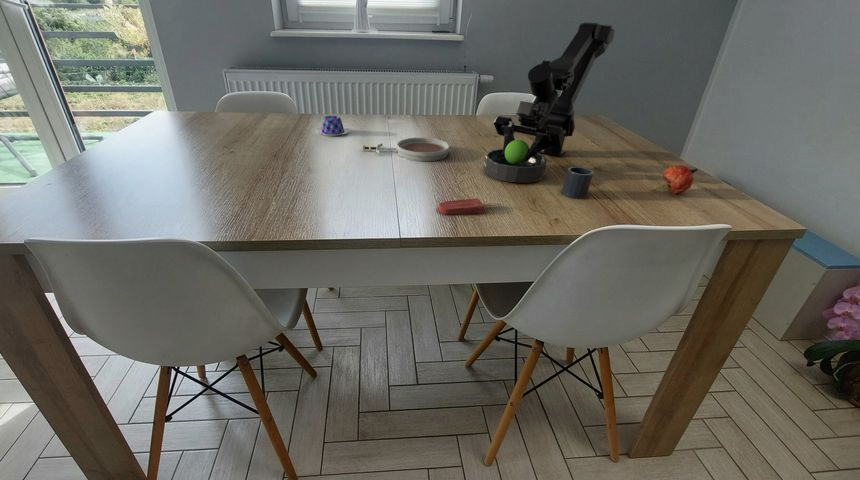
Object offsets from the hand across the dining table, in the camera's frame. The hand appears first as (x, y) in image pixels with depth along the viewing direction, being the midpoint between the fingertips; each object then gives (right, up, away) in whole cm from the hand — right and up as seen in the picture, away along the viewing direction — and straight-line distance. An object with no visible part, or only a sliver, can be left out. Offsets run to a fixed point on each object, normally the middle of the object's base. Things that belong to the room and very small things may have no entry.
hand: (513, 158), depth 110 cm
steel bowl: (+1, -3, +3) cm, 5 cm away
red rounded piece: (+38, -11, -6) cm, 40 cm away
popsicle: (-15, -17, -16) cm, 28 cm away
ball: (+1, +2, 0) cm, 2 cm away
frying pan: (-29, +7, +18) cm, 34 cm away
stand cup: (+13, -11, -8) cm, 19 cm away
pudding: (-54, +20, +35) cm, 67 cm away
